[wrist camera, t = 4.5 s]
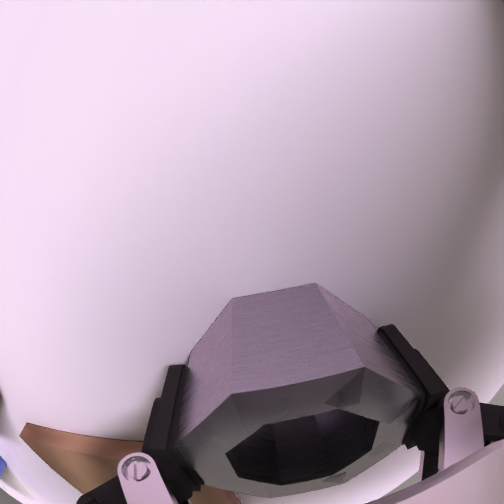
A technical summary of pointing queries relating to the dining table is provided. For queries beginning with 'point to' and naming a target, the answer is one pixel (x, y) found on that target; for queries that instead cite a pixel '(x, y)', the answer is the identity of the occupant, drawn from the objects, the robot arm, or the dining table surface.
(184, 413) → the collar
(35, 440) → the post block
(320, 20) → the dining table surface
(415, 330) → the dining table surface
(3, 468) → the water bottle
